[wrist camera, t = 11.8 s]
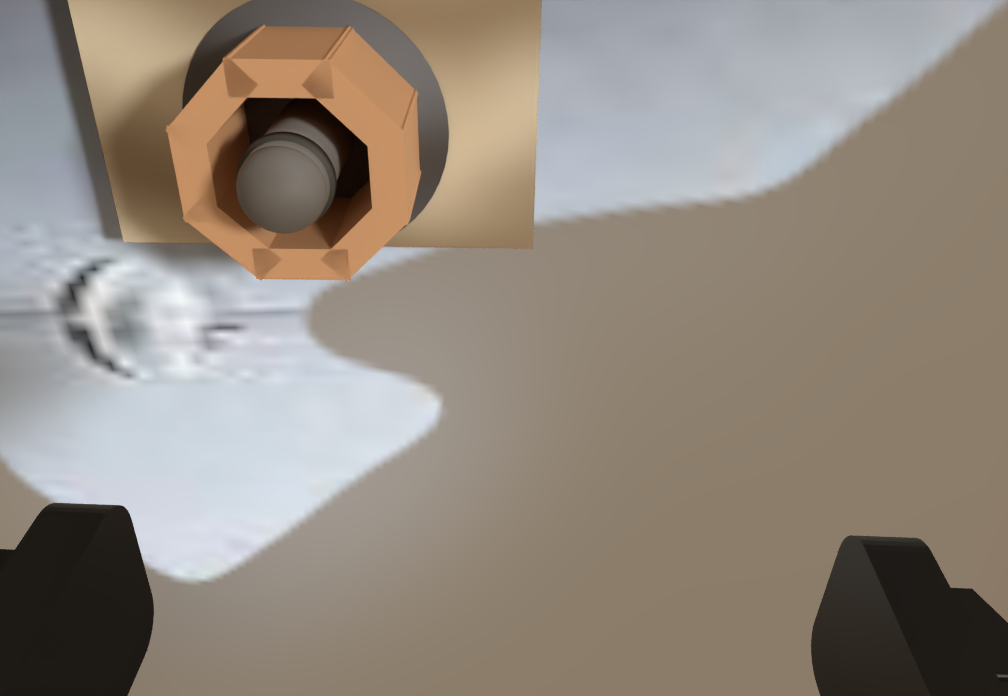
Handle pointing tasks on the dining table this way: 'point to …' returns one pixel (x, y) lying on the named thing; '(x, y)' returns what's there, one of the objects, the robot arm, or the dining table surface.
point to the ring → (350, 98)
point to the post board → (440, 25)
